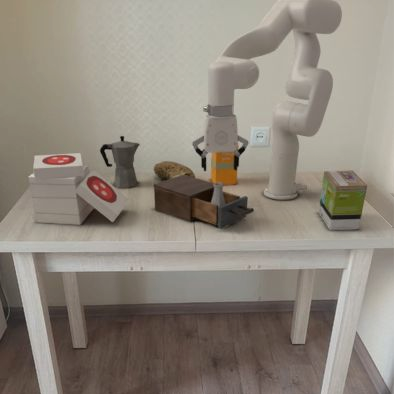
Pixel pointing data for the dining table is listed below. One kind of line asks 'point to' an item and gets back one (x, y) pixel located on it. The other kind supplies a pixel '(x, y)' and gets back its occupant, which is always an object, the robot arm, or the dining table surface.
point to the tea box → (342, 200)
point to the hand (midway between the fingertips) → (220, 169)
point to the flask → (218, 195)
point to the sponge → (172, 170)
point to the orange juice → (223, 168)
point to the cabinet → (179, 195)
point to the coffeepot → (122, 162)
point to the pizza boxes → (71, 190)
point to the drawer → (220, 209)
